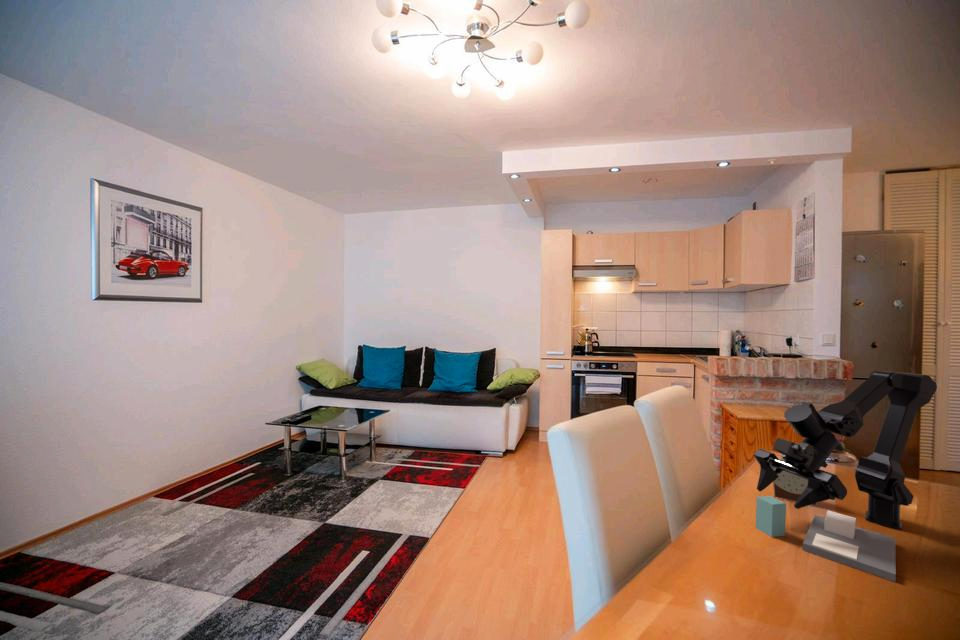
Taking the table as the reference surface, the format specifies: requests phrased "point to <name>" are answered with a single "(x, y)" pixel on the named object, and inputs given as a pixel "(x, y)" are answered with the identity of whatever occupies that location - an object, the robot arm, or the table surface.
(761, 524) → the pillar
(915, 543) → the table surface
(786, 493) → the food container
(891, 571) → the building board
